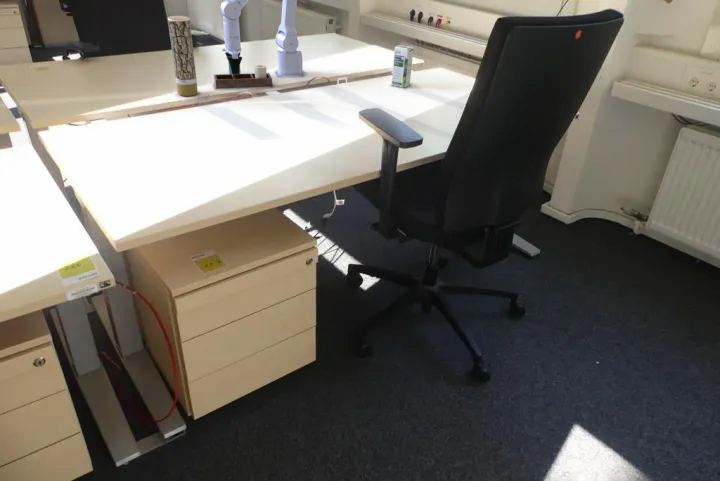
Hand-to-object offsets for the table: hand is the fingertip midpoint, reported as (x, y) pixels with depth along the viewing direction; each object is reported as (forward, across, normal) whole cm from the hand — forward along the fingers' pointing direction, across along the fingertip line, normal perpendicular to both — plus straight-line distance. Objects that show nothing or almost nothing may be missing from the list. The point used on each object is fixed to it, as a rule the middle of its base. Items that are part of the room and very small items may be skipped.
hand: (234, 73), depth 205 cm
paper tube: (+2, +17, -18) cm, 25 cm away
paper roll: (+2, 0, 0) cm, 2 cm away
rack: (+2, +10, +2) cm, 10 cm away
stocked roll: (+1, +10, +8) cm, 13 cm away
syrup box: (+2, +16, +62) cm, 64 cm away
